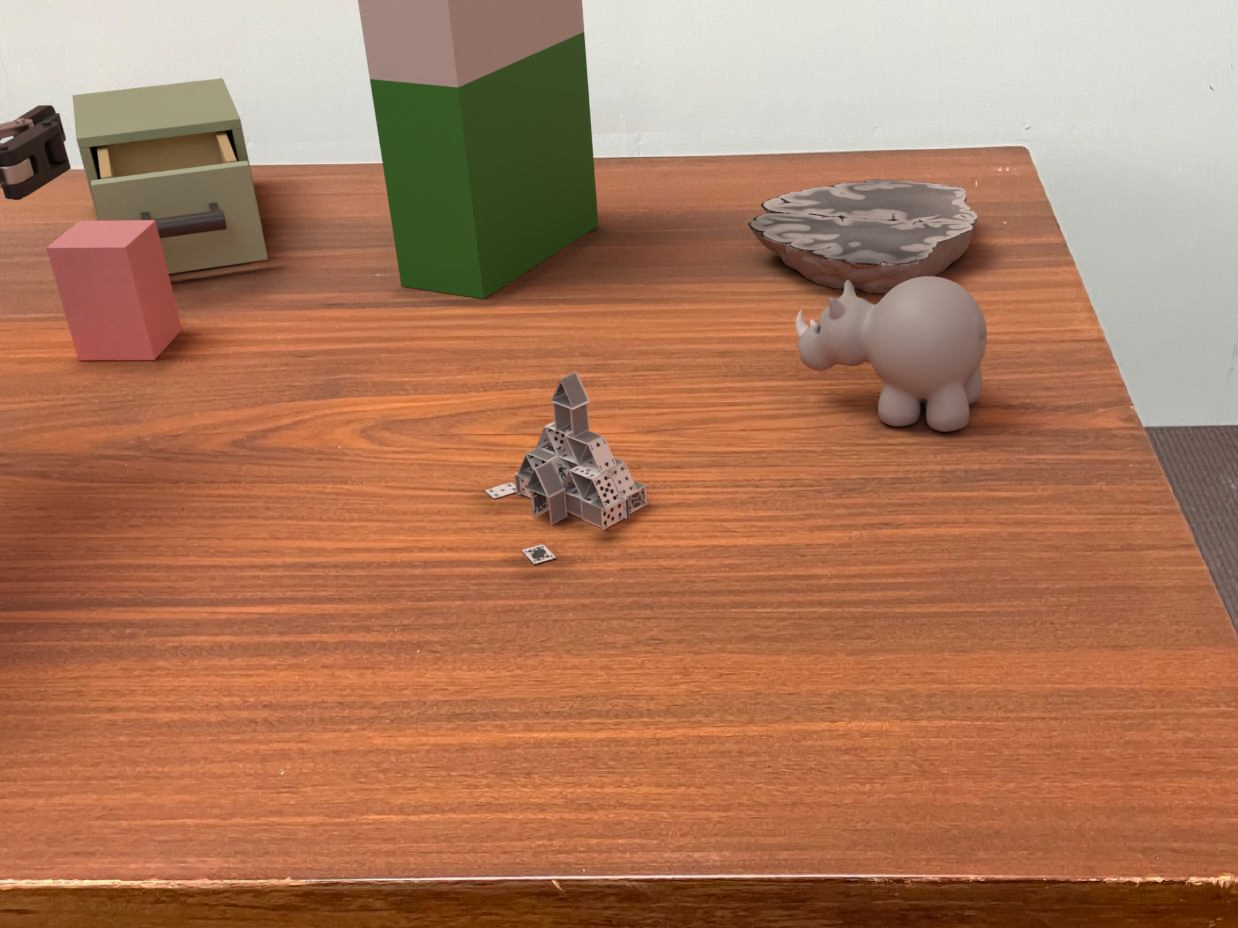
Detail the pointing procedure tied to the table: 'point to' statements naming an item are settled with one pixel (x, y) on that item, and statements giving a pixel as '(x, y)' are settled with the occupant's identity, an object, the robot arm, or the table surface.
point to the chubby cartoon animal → (906, 348)
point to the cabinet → (154, 118)
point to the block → (115, 289)
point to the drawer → (184, 198)
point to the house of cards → (574, 470)
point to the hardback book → (481, 135)
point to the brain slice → (868, 231)
